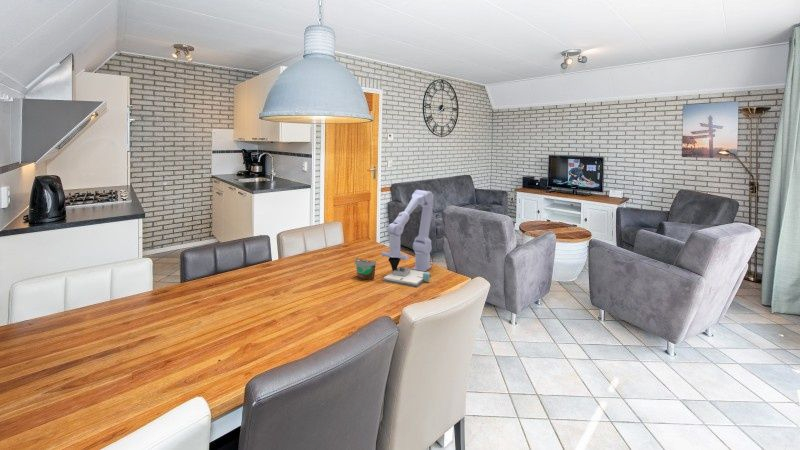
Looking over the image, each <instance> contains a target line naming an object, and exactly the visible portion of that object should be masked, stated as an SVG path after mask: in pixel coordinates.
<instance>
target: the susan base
mask: <svg viewBox="0 0 800 450" xmlns="http://www.w3.org/2000/svg"><path fill="white" fill-rule="evenodd" d="M431 277H432V274H430V278H431ZM382 282H385V283H390V284H396V285H401V286H406V287H412V288H419V287H420V286H421V285H422V284H423V283H425V282H426V281H424V280H422V281H421V282H420V283H419V284H417V285H413V284H408V283H402V282H397V281H391V280H386V279H384V278H383V279H382Z"/></svg>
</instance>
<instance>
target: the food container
mask: <svg viewBox="0 0 800 450" xmlns="http://www.w3.org/2000/svg"><path fill="white" fill-rule="evenodd" d="M354 264H355V268H356V277H357V280H360V281H372V280H374V279H375V274H376V273H375V272H376V265H377V260H373V261H372V260H368V259H360V258H358V257H356V258H355V260H354Z"/></svg>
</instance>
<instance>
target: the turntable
mask: <svg viewBox="0 0 800 450" xmlns="http://www.w3.org/2000/svg"><path fill="white" fill-rule="evenodd" d="M430 275H431V272H428V271H420V270H414V269H410V274H408V275H407V276H406V277H403V276H397V275H394V272H393V271H392V272H390V273H388V274H387V275H385V276H384V277H383V279H386V280H391V281H397V282H402V283H408V284H413V285H417V284H419V283H420V282H421V281H422V280H424V281H425V282H429V281H431V280H430V279H431V277H430Z"/></svg>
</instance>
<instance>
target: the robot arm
mask: <svg viewBox="0 0 800 450" xmlns="http://www.w3.org/2000/svg"><path fill="white" fill-rule="evenodd" d="M434 198H435V195H434V194H433V192H432V191H431V190H420V189H415V190H414V192H413V193H412V195H411V199H410V201H409V203H408V204H407V206H406V207H405V208H404V211H400V212H399V213H398V215H397V216H396V218H395V219H394V220H393V222H391V223H390V224H388V226H387V229H386V231H387V233H388V237H389V245H388V247H389V248H388V249H389V252H388V251H382V252H381V257H383V258H384V257H387V258H388V263H389V264H390V267H391V269H392V272H394V270H395V269H397V268H398V267H399V264H400V262H401V260H404V261H408V260H409V255H406V254H402V253H401V235H402V234H403V232H404V228H405V225H406V224H407V223H408V221H409V220H410V215H411V214H412V213H413V212H414V210H415V209H416V208H417V207H418V206H421V207H422V209H421V217H420V222H419V223H420V225H419V229H418V230H419V231H418V235H417V236H416V237H414V241H413V243H412V249H413V251H414V253H415V257H414V264H415V265H414V267H412V268H411V270H416V271H422V272H428V270H429V269H431V268H432V266H431V255H430V253H431V252H432V249H433V246H432V239H430V237H429V236H430V227H431V221H432V215H433V208H434Z"/></svg>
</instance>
